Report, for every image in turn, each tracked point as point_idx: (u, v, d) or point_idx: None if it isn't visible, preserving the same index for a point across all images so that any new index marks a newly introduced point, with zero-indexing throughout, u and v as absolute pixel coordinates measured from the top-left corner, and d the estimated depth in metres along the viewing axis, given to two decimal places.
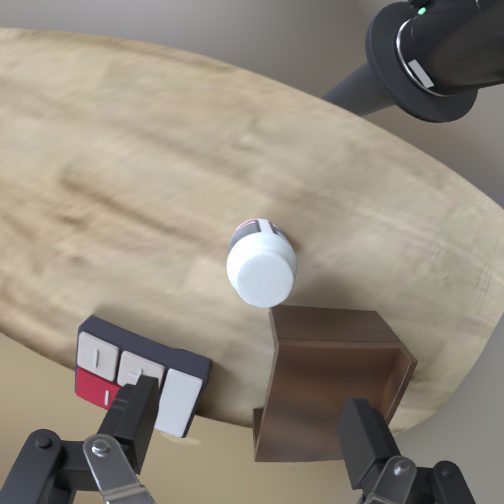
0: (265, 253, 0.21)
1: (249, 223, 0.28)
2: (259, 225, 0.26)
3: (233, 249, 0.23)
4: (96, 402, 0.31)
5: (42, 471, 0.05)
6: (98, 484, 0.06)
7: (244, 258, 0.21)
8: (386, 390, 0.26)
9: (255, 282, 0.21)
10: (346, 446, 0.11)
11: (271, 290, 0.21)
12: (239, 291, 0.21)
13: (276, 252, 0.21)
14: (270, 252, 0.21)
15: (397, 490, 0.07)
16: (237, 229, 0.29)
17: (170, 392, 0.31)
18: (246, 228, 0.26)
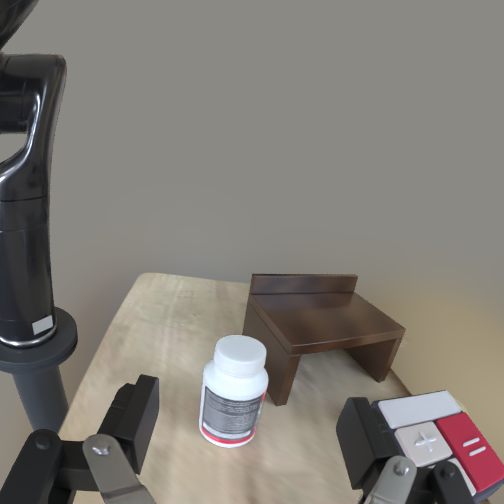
0: (217, 350, 0.23)
1: (206, 425, 0.24)
2: (203, 406, 0.24)
3: (230, 394, 0.22)
4: (493, 455, 0.18)
5: (42, 471, 0.05)
6: (98, 484, 0.06)
7: (230, 366, 0.22)
8: (285, 289, 0.40)
9: (244, 351, 0.23)
10: (346, 446, 0.11)
11: (246, 343, 0.24)
12: (259, 358, 0.23)
13: None
14: (216, 351, 0.23)
15: (397, 490, 0.07)
16: (217, 437, 0.24)
17: (413, 416, 0.25)
18: (210, 416, 0.23)
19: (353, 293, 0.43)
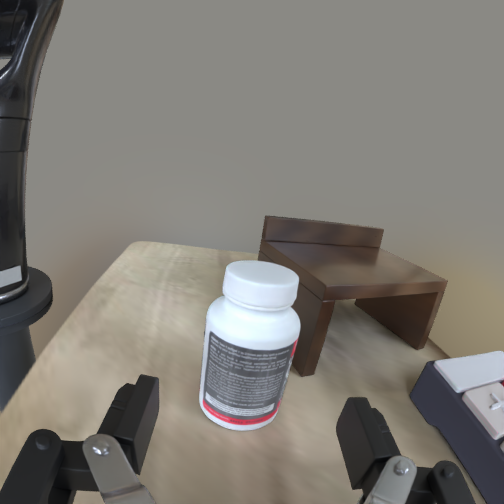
0: (229, 272, 0.16)
1: (210, 397, 0.17)
2: (206, 368, 0.17)
3: (248, 339, 0.15)
4: None
5: (42, 471, 0.05)
6: (98, 484, 0.06)
7: (248, 293, 0.15)
8: (304, 238, 0.33)
9: (269, 275, 0.17)
10: (346, 446, 0.11)
11: (269, 268, 0.18)
12: (291, 283, 0.16)
13: (224, 279, 0.17)
14: (226, 274, 0.16)
15: (396, 490, 0.07)
16: (227, 414, 0.17)
17: (477, 377, 0.18)
18: (217, 380, 0.17)
19: (379, 249, 0.37)
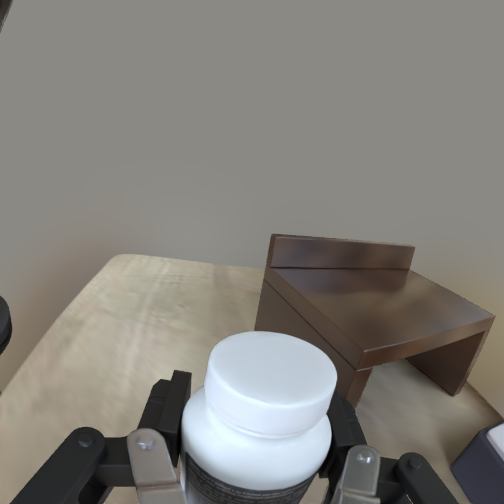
0: (213, 373, 0.08)
1: None
2: (185, 485, 0.09)
3: (248, 479, 0.07)
4: None
5: (79, 467, 0.06)
6: (134, 475, 0.07)
7: (249, 416, 0.07)
8: (322, 262, 0.25)
9: (286, 373, 0.09)
10: None
11: (285, 351, 0.10)
12: (326, 390, 0.08)
13: (206, 374, 0.09)
14: (209, 372, 0.09)
15: (364, 480, 0.07)
16: None
17: None
18: None
19: (410, 271, 0.29)
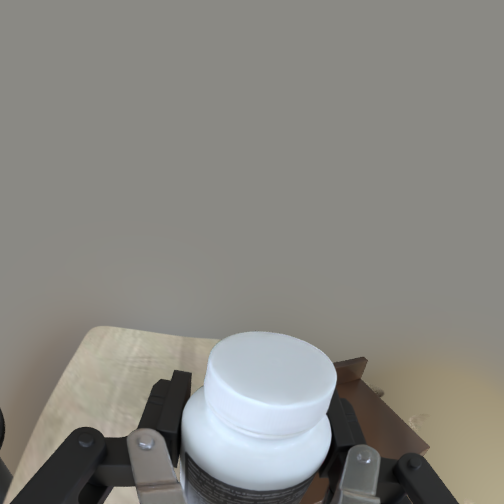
0: (213, 373, 0.08)
1: None
2: (184, 485, 0.09)
3: (248, 479, 0.07)
4: None
5: (79, 467, 0.06)
6: (134, 475, 0.07)
7: (248, 417, 0.07)
8: None
9: (285, 373, 0.09)
10: None
11: (285, 351, 0.10)
12: (325, 391, 0.08)
13: (206, 374, 0.09)
14: (208, 372, 0.09)
15: (364, 480, 0.07)
16: None
17: None
18: None
19: (360, 383, 0.29)
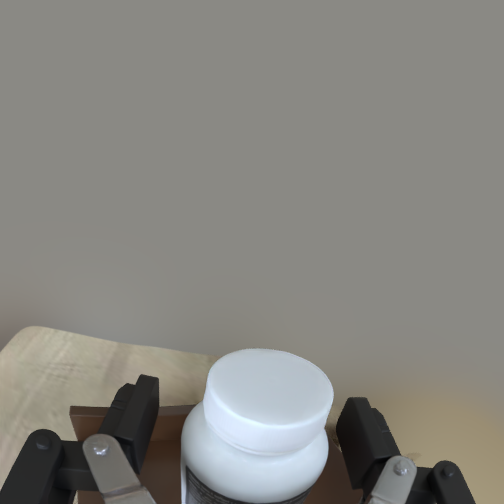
0: (212, 393, 0.08)
1: None
2: (185, 495, 0.09)
3: (246, 493, 0.07)
4: None
5: (42, 471, 0.05)
6: (98, 484, 0.06)
7: (246, 436, 0.07)
8: None
9: (283, 392, 0.09)
10: (346, 446, 0.11)
11: (283, 369, 0.10)
12: (322, 410, 0.08)
13: (205, 392, 0.09)
14: (208, 392, 0.09)
15: (396, 490, 0.07)
16: None
17: None
18: None
19: None
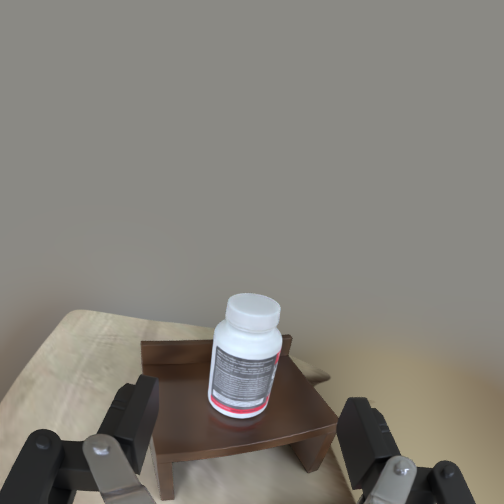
0: (230, 305, 0.23)
1: (217, 393, 0.24)
2: (213, 371, 0.24)
3: (243, 352, 0.22)
4: None
5: (42, 471, 0.05)
6: (98, 484, 0.06)
7: (243, 321, 0.22)
8: (186, 359, 0.30)
9: (258, 306, 0.23)
10: (346, 446, 0.11)
11: (259, 300, 0.24)
12: (274, 313, 0.22)
13: (226, 309, 0.23)
14: (228, 306, 0.23)
15: (396, 490, 0.07)
16: (228, 405, 0.23)
17: None
18: (221, 380, 0.23)
19: (286, 358, 0.33)
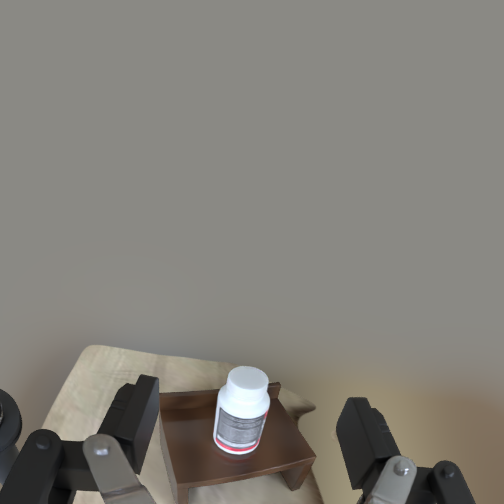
0: (230, 380, 0.28)
1: (220, 437, 0.29)
2: (217, 422, 0.29)
3: (240, 414, 0.27)
4: None
5: (42, 471, 0.05)
6: (98, 484, 0.06)
7: (240, 393, 0.27)
8: (195, 405, 0.36)
9: (251, 381, 0.29)
10: (346, 446, 0.11)
11: (252, 373, 0.30)
12: (263, 386, 0.28)
13: (227, 381, 0.29)
14: (228, 380, 0.29)
15: (396, 490, 0.07)
16: (229, 446, 0.29)
17: None
18: (224, 430, 0.29)
19: (275, 401, 0.39)
